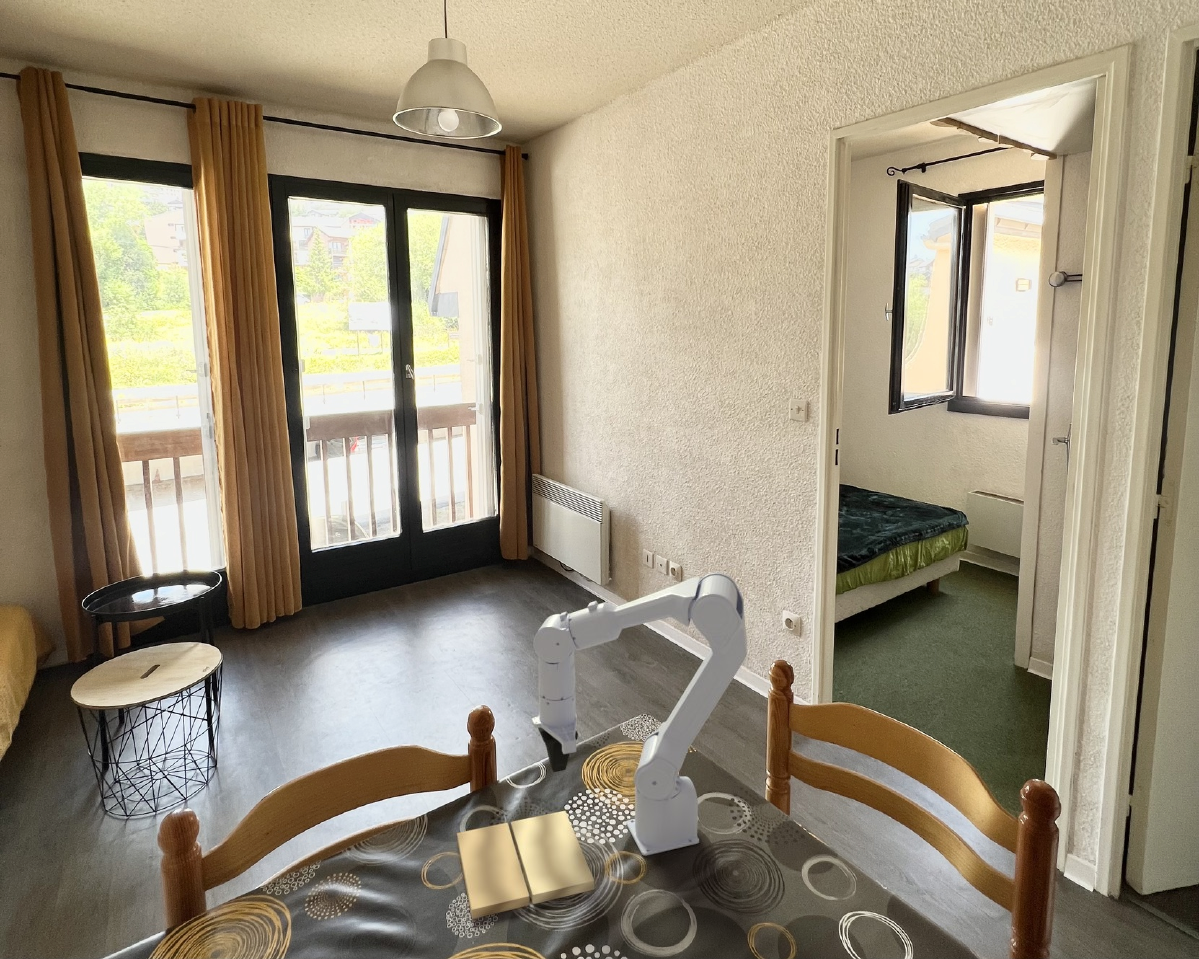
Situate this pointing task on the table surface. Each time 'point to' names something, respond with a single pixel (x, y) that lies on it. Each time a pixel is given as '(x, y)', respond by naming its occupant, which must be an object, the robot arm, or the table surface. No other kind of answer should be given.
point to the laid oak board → (491, 870)
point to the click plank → (551, 857)
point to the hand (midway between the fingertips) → (558, 768)
